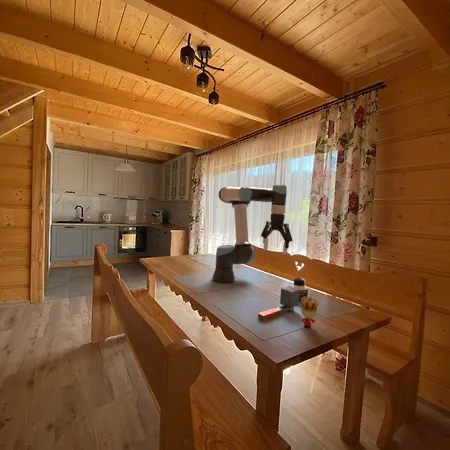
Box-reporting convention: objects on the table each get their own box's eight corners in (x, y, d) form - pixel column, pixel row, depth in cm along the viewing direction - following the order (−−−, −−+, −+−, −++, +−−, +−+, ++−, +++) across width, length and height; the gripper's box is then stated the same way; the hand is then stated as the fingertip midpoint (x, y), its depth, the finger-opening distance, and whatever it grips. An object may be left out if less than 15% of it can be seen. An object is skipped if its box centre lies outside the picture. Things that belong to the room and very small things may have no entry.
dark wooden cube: (287, 301, 133) (288, 286, 132) (298, 305, 128) (299, 289, 128) (279, 303, 129) (281, 288, 128) (290, 308, 124) (291, 291, 123)
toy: (312, 323, 115) (315, 290, 114) (319, 331, 108) (322, 296, 107) (296, 322, 115) (299, 290, 114) (302, 330, 108) (305, 295, 107)
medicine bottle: (295, 302, 140) (297, 280, 139) (289, 297, 147) (290, 277, 146) (307, 301, 142) (309, 280, 141) (300, 297, 149) (301, 276, 148)
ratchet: (287, 307, 133) (288, 292, 132) (295, 310, 129) (297, 295, 128) (256, 318, 118) (257, 301, 117) (264, 322, 114) (266, 304, 113)
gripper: (256, 211, 148) (253, 248, 150) (292, 215, 129) (289, 256, 131) (265, 212, 153) (262, 247, 155) (301, 215, 134) (298, 255, 136)
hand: (274, 251), depth 143 cm, fingers open, 13 cm apart
